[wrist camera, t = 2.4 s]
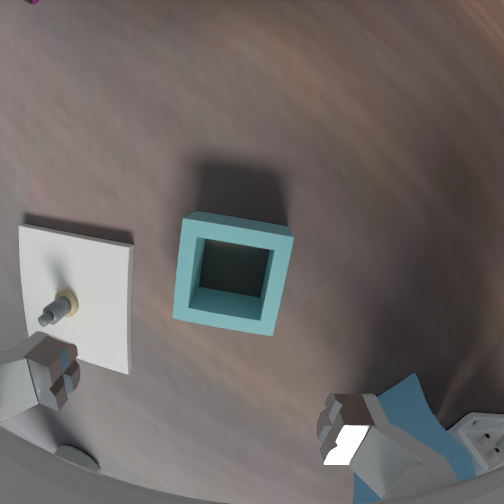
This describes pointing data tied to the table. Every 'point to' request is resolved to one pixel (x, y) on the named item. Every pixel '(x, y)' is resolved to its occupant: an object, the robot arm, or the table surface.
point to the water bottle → (77, 457)
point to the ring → (220, 302)
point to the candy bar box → (31, 1)
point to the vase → (417, 432)
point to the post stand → (79, 292)
